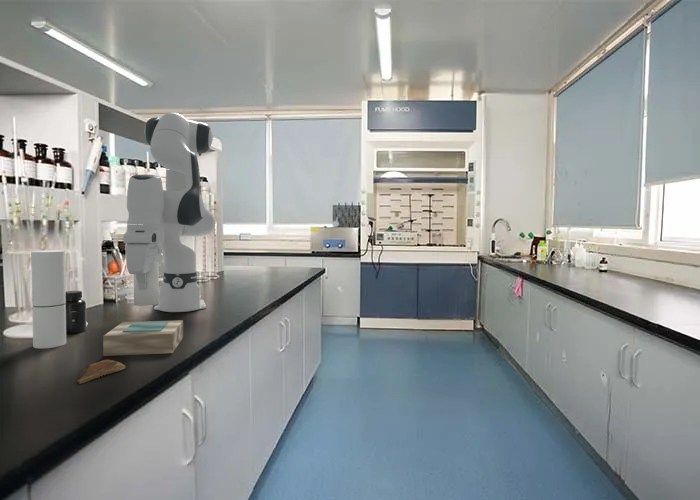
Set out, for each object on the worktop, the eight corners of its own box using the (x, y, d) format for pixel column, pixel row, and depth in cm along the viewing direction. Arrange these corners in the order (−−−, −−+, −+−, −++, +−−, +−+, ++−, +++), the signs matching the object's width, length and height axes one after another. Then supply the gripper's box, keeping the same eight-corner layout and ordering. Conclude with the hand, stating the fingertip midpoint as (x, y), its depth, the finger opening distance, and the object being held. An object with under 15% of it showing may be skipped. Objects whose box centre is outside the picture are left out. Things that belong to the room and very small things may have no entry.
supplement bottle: (56, 335, 119) (55, 294, 119) (61, 329, 125) (61, 290, 125) (84, 333, 122) (83, 293, 121) (88, 327, 128) (87, 289, 128)
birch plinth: (122, 339, 116) (122, 320, 116) (183, 337, 120) (183, 319, 119) (103, 356, 102) (103, 334, 101) (172, 353, 105) (172, 332, 105)
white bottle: (137, 301, 112) (137, 255, 112) (161, 301, 114) (160, 255, 113) (130, 305, 106) (130, 257, 106) (156, 305, 108) (155, 257, 107)
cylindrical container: (63, 339, 115) (61, 250, 114) (68, 345, 110) (67, 251, 109) (31, 344, 110) (29, 250, 109) (35, 350, 105) (33, 252, 104)
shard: (77, 387, 83) (77, 378, 83) (55, 380, 87) (54, 372, 87) (126, 371, 93) (126, 363, 93) (105, 365, 96) (104, 358, 96)
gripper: (143, 234, 118) (144, 282, 119) (120, 236, 99) (121, 293, 99) (167, 235, 120) (167, 282, 121) (149, 236, 100) (149, 293, 101)
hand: (146, 287), depth 110 cm, fingers closed on white bottle, 6 cm apart
